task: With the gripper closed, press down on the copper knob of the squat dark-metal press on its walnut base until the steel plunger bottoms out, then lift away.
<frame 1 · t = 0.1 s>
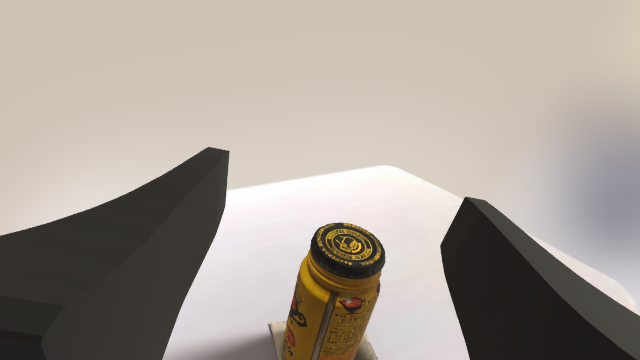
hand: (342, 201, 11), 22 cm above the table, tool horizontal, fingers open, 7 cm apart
condiment: (326, 355, 32), on the table
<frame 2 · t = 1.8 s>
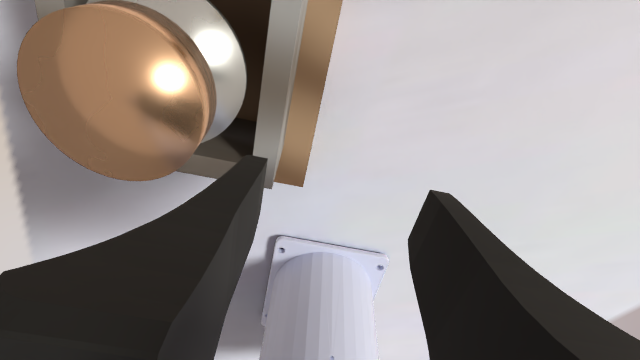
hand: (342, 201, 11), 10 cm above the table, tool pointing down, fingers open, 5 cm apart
plunger: (142, 84, 12), point 8 cm above the table, slide at 0.0 cm
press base: (213, 35, 19), on the table
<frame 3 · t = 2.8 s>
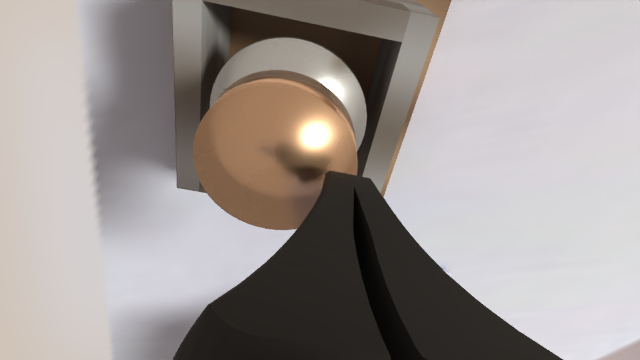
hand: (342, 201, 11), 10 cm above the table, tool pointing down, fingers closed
plunger: (282, 138, 13), point 8 cm above the table, slide at 0.0 cm
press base: (301, 70, 20), on the table
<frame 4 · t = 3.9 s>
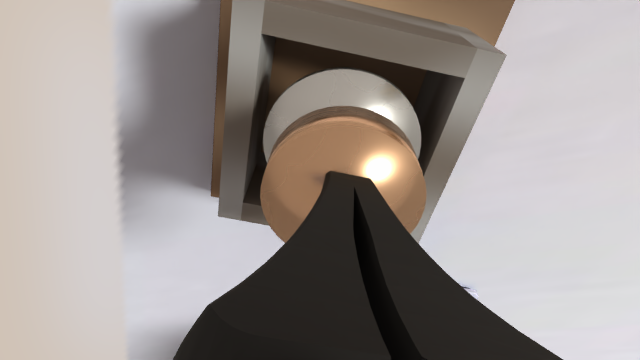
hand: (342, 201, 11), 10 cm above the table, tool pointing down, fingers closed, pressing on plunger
plunger: (341, 169, 13), point 8 cm above the table, slide at 0.4 cm, touching gripper
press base: (340, 93, 19), on the table
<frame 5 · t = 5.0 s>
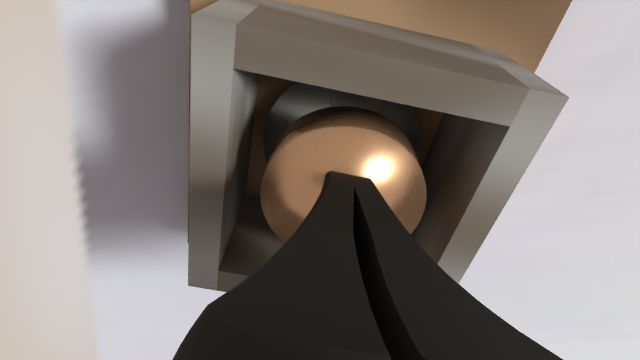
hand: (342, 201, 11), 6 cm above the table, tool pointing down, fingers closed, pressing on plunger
plunger: (341, 170, 13), point 4 cm above the table, slide at 4.3 cm, touching gripper
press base: (340, 124, 16), on the table
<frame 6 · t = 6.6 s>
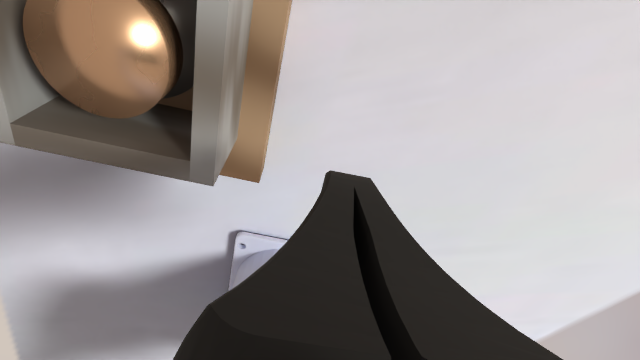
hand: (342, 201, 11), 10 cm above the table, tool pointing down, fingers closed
plunger: (123, 40, 15), point 4 cm above the table, slide at 4.3 cm
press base: (161, 22, 18), on the table
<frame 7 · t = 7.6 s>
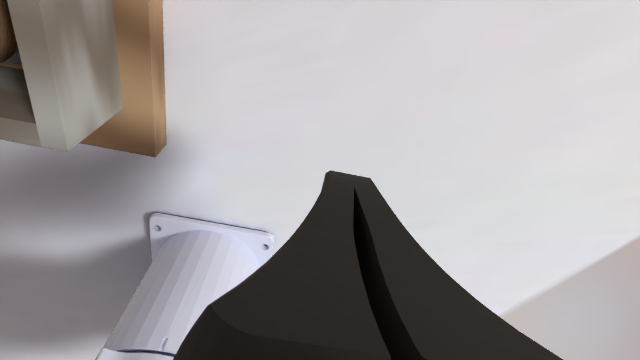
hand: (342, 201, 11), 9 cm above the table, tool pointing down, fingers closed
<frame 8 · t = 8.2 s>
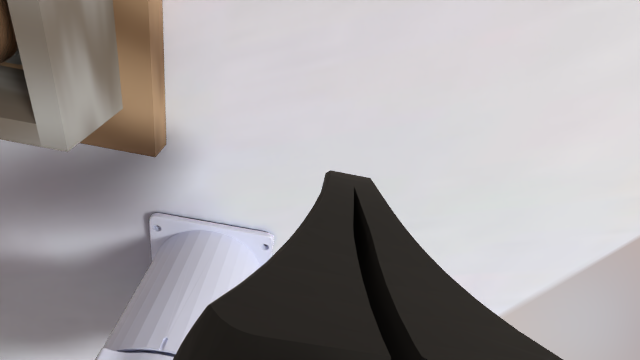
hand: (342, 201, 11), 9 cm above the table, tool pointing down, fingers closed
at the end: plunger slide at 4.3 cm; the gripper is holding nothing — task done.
